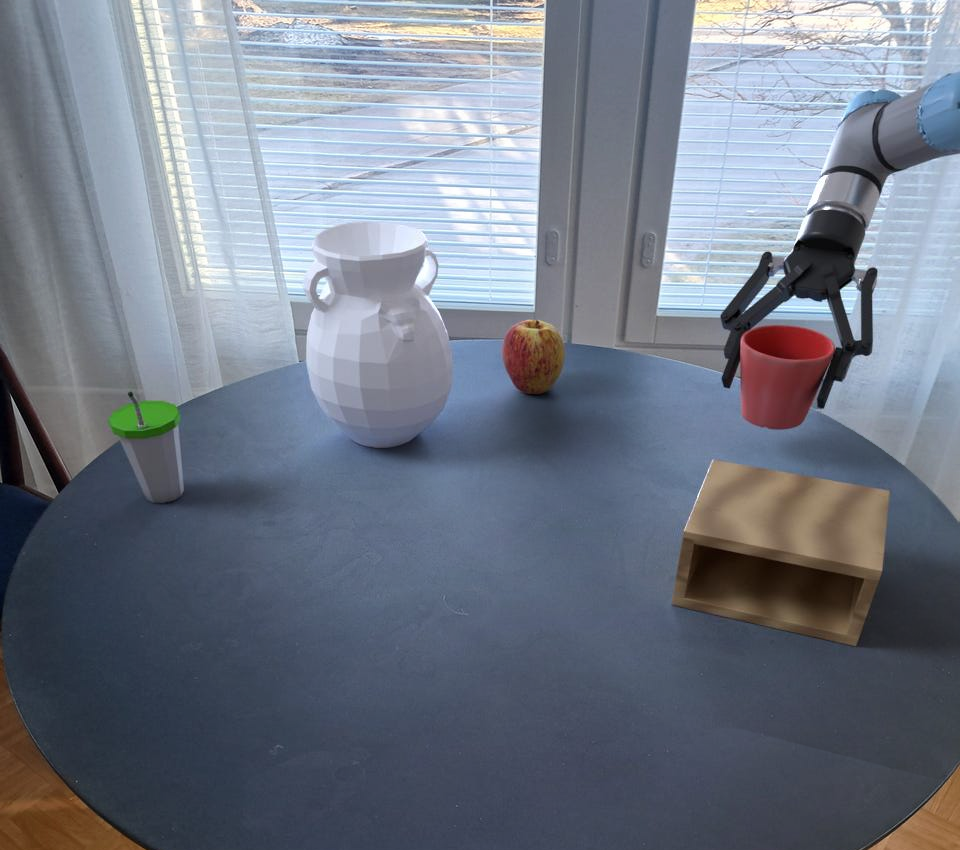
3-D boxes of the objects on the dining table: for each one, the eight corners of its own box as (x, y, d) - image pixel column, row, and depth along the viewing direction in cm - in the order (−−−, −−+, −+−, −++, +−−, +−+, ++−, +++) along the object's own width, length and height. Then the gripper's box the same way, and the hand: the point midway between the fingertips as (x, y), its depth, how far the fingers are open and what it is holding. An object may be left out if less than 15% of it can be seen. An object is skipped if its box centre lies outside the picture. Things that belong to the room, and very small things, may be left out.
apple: (495, 379, 134) (495, 312, 127) (553, 373, 136) (556, 306, 129) (511, 405, 127) (512, 335, 121) (572, 398, 129) (576, 329, 122)
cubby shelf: (866, 563, 97) (890, 490, 92) (856, 646, 87) (882, 570, 81) (700, 529, 103) (712, 459, 97) (671, 605, 92) (683, 531, 86)
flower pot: (761, 443, 108) (778, 365, 102) (712, 405, 116) (724, 331, 110) (834, 427, 111) (855, 351, 105) (781, 392, 119) (797, 319, 113)
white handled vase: (350, 480, 111) (327, 273, 95) (295, 421, 124) (266, 229, 108) (480, 443, 119) (479, 244, 103) (415, 391, 131) (406, 206, 115)
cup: (156, 473, 113) (125, 357, 103) (210, 483, 111) (183, 367, 101) (117, 504, 107) (81, 385, 98) (173, 515, 105) (141, 395, 96)
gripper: (934, 255, 108) (870, 426, 108) (744, 228, 117) (685, 386, 117) (940, 219, 101) (872, 401, 101) (738, 194, 110) (675, 361, 110)
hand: (771, 393), depth 109 cm, fingers closed on flower pot, 11 cm apart
